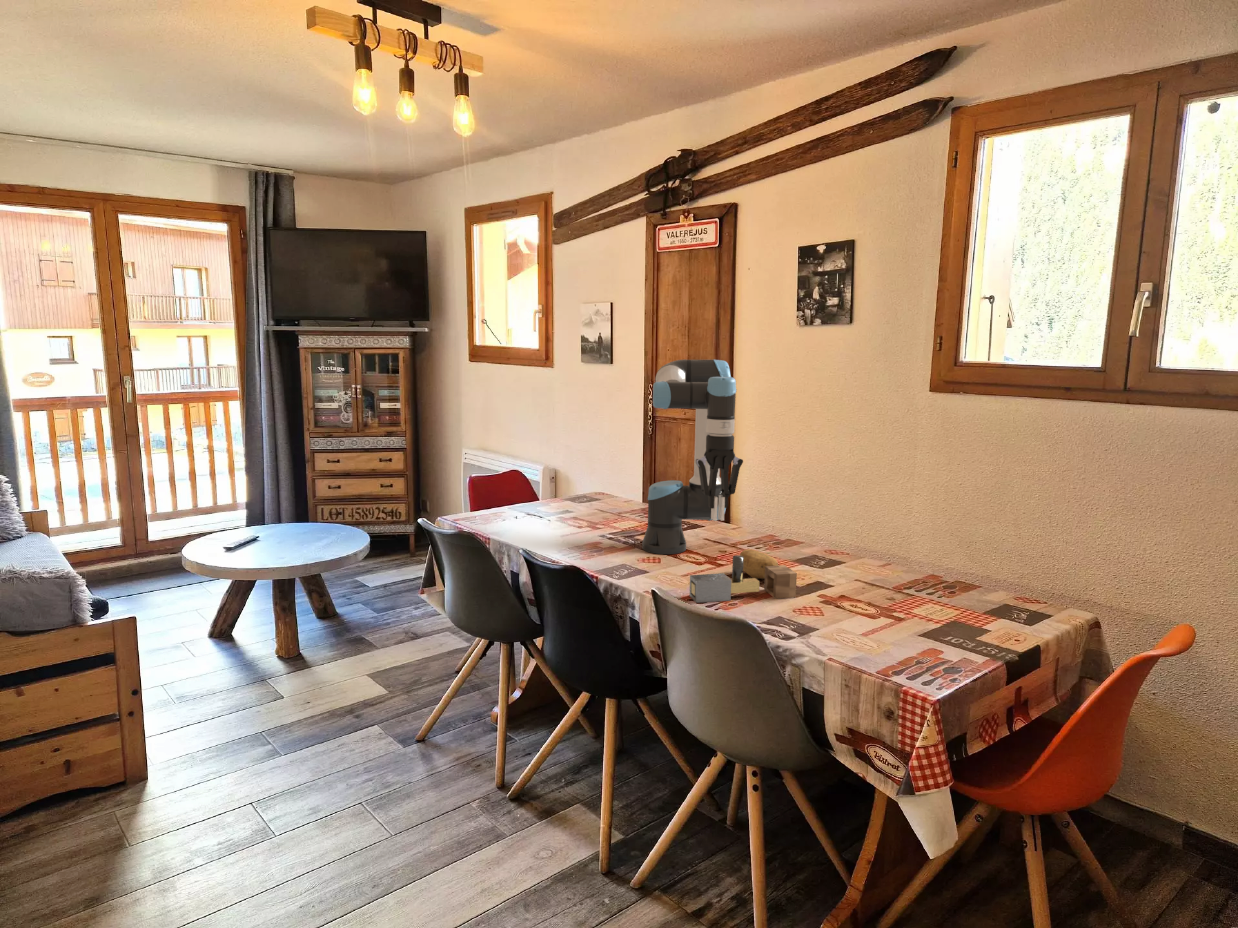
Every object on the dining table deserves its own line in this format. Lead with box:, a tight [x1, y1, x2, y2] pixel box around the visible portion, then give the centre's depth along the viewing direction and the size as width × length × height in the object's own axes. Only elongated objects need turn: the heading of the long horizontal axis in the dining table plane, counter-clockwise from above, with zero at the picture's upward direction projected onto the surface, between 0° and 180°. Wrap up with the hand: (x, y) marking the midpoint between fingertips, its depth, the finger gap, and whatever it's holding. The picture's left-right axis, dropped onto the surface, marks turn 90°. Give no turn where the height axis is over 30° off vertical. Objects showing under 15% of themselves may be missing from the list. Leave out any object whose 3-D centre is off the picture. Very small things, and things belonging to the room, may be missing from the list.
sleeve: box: [688, 572, 732, 604], centre depth 215 cm, size 6×10×6 cm, turn 103°
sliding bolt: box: [691, 554, 760, 596], centre depth 216 cm, size 3×19×10 cm, turn 103°
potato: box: [739, 548, 779, 580], centre depth 234 cm, size 10×14×8 cm
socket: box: [763, 564, 798, 600], centre depth 220 cm, size 8×6×7 cm
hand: (717, 519), depth 212 cm, fingers closed
